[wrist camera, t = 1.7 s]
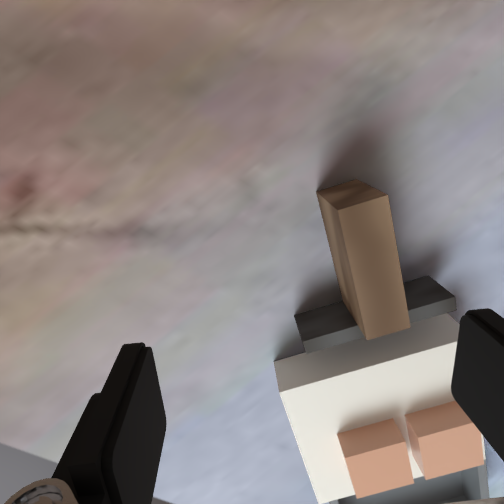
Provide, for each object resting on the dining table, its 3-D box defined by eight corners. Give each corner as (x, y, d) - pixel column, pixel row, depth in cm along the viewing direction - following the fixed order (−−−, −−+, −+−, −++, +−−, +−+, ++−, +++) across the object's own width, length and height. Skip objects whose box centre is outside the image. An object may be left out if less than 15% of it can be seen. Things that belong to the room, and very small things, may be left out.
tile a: (461, 398, 31) (479, 420, 29) (466, 440, 33) (484, 464, 31) (404, 414, 31) (417, 438, 29) (412, 455, 33) (425, 480, 31)
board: (445, 311, 33) (473, 336, 29) (460, 425, 38) (485, 459, 34) (273, 361, 33) (279, 392, 30) (310, 466, 38) (318, 504, 35)
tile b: (392, 418, 31) (405, 441, 29) (401, 458, 33) (414, 483, 31) (336, 433, 32) (344, 458, 29) (348, 473, 33) (356, 498, 31)
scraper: (411, 161, 28) (458, 172, 22) (430, 287, 32) (472, 323, 26) (261, 208, 29) (269, 231, 23) (297, 326, 32) (311, 370, 27)
